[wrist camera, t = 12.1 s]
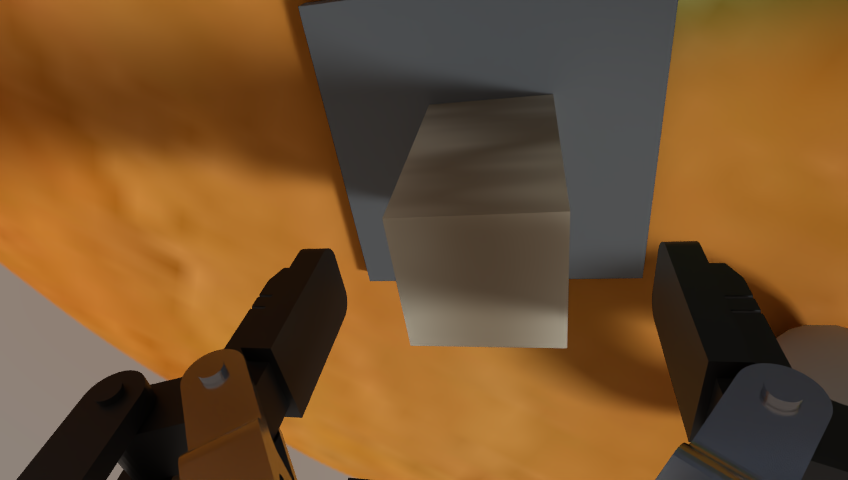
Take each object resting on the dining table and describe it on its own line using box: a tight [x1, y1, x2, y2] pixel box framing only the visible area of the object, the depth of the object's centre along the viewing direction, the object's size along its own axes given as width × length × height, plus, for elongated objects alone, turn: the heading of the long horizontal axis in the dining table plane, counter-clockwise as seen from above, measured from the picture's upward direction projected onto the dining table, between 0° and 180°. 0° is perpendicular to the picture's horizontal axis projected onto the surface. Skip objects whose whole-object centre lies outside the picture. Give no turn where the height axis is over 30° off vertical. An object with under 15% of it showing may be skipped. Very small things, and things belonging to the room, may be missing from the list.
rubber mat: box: [298, 0, 678, 281], centre depth 18 cm, size 11×11×1 cm
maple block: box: [382, 94, 570, 348], centre depth 15 cm, size 4×4×7 cm
